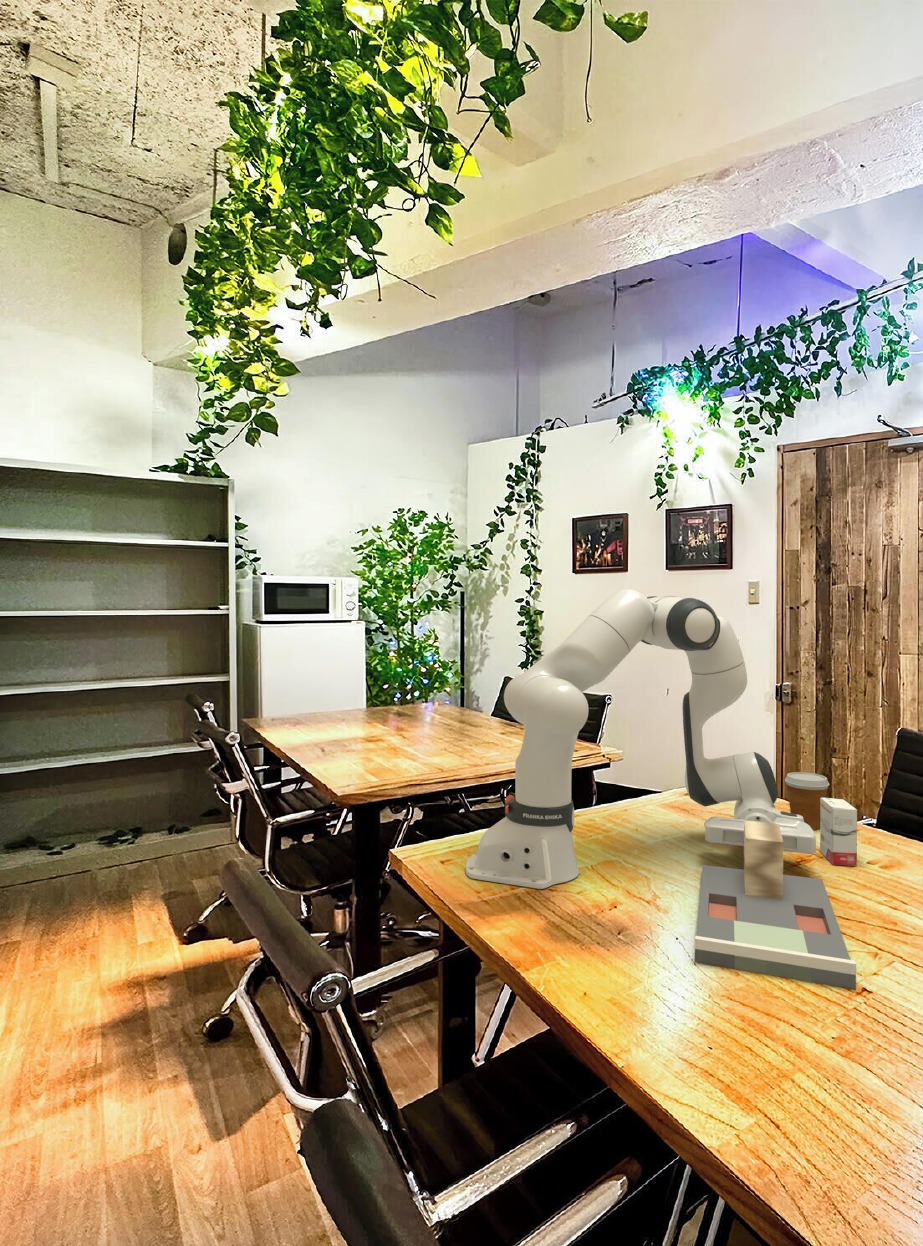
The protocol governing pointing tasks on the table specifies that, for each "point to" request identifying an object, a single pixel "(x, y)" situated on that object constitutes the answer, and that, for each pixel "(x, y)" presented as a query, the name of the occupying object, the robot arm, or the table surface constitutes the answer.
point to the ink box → (838, 831)
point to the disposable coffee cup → (806, 796)
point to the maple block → (763, 859)
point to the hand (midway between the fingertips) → (760, 847)
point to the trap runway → (771, 929)
